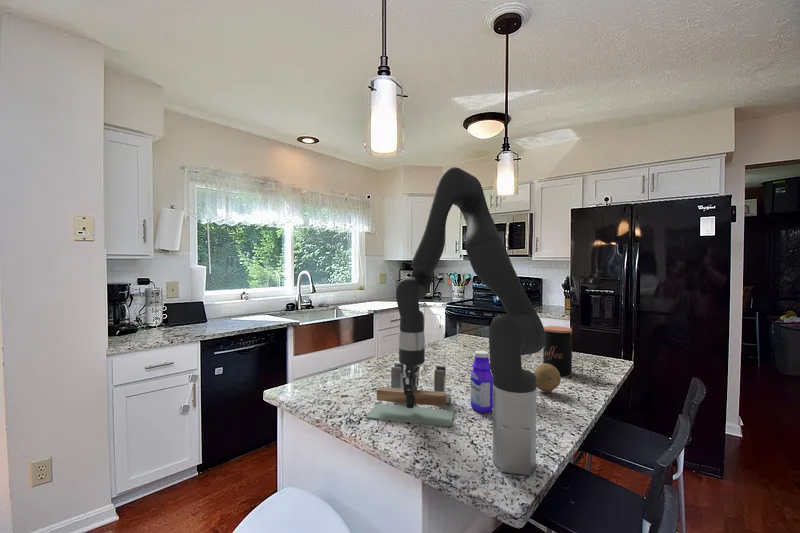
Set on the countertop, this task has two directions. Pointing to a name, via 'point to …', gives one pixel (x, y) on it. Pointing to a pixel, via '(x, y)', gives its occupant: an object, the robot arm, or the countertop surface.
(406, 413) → the mat
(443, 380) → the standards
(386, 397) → the rail
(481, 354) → the bottle
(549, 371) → the tan round lump
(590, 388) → the countertop surface
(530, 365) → the countertop surface
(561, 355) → the coffee jar
